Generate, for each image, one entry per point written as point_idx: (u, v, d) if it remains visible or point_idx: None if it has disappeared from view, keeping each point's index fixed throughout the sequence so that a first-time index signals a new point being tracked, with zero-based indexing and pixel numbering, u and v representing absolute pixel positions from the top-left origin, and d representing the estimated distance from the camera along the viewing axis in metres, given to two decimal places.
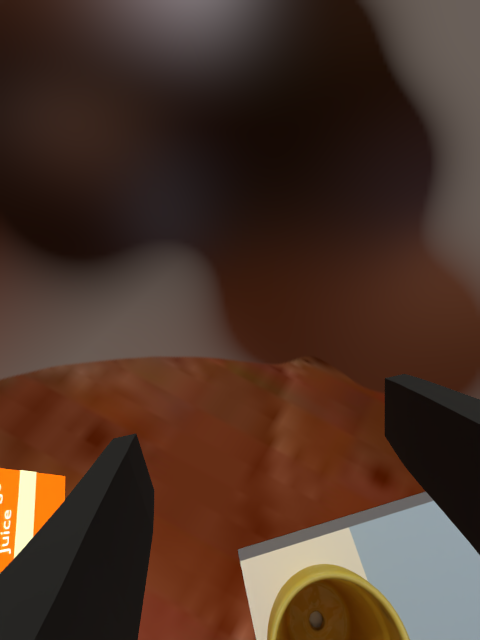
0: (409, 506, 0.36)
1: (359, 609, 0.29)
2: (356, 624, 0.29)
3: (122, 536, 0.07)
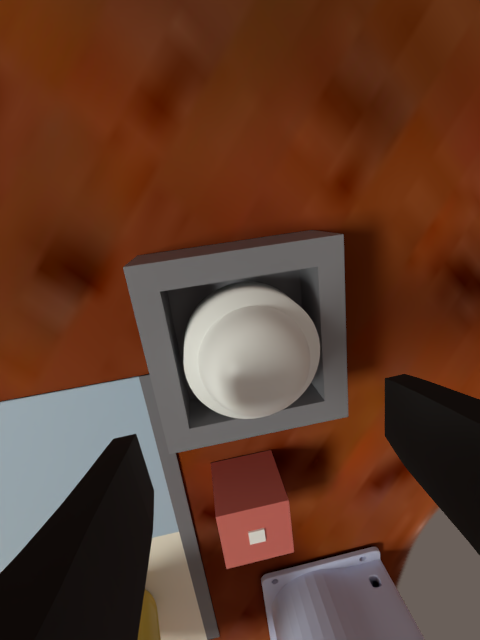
0: None
1: None
2: None
3: (122, 536, 0.07)
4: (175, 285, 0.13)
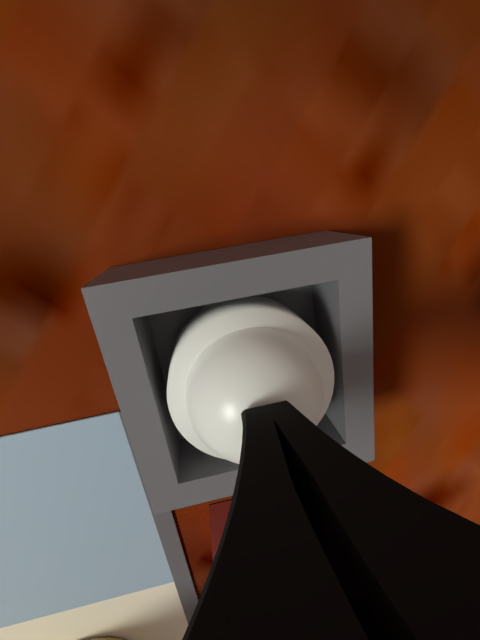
0: None
1: None
2: None
3: None
4: (152, 309, 0.10)
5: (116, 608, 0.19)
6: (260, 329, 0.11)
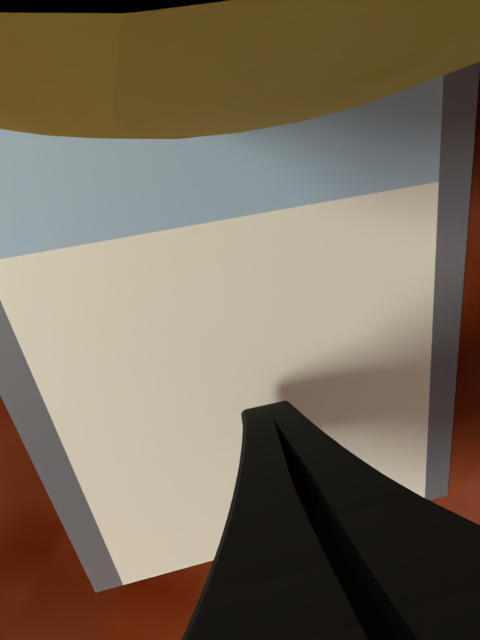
0: None
1: None
2: None
3: None
4: None
5: (317, 240, 0.09)
6: None
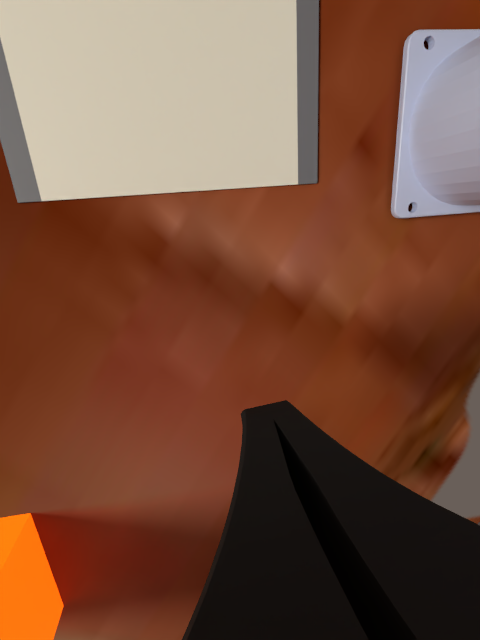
0: None
1: None
2: None
3: None
4: None
5: None
6: None
